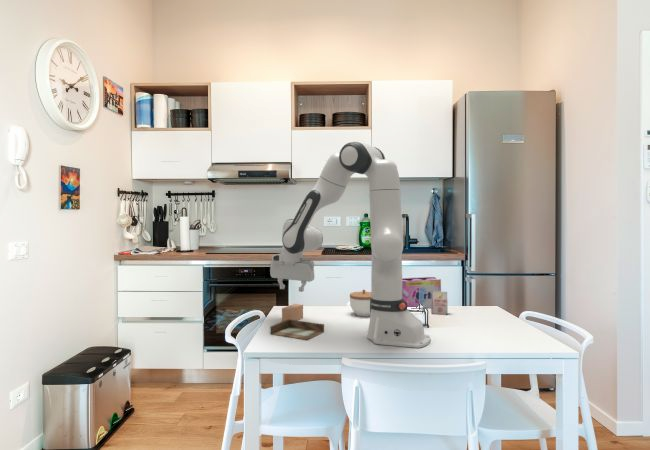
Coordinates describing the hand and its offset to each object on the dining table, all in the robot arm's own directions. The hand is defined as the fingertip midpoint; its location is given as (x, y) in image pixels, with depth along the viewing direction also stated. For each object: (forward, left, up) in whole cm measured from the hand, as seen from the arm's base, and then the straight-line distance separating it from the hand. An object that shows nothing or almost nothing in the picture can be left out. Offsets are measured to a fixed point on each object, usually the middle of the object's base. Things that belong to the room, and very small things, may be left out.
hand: (291, 290), depth 172 cm
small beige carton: (-51, -42, -13) cm, 68 cm away
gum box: (-38, -51, -13) cm, 65 cm away
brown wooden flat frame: (-12, +15, -13) cm, 23 cm away
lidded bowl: (-22, -24, -13) cm, 35 cm away
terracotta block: (0, 0, -13) cm, 13 cm away
